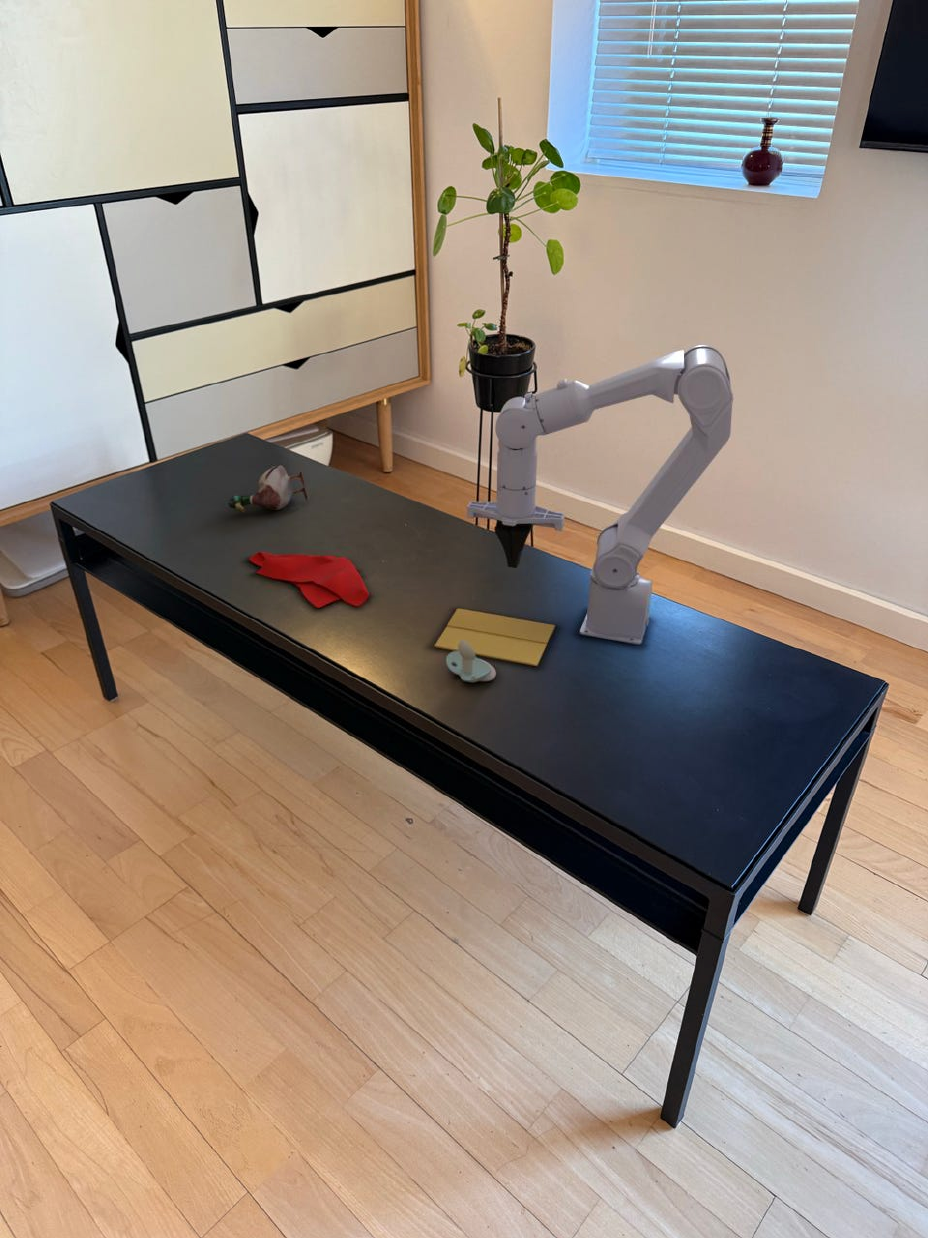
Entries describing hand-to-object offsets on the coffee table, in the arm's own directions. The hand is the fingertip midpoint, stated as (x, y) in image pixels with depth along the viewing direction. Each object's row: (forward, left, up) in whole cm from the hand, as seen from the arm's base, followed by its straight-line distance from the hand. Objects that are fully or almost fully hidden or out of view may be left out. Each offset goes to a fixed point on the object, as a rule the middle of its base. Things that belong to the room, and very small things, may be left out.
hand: (513, 564), depth 136 cm
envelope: (+1, +6, -9) cm, 11 cm away
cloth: (+35, -2, -10) cm, 37 cm away
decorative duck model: (+58, -25, -10) cm, 64 cm away
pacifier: (+1, +17, -10) cm, 19 cm away
